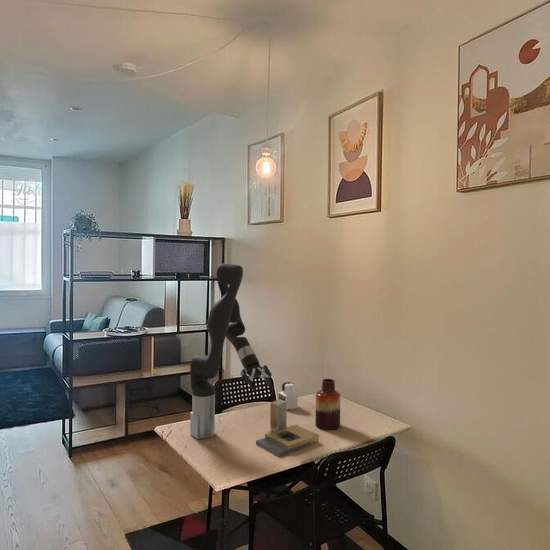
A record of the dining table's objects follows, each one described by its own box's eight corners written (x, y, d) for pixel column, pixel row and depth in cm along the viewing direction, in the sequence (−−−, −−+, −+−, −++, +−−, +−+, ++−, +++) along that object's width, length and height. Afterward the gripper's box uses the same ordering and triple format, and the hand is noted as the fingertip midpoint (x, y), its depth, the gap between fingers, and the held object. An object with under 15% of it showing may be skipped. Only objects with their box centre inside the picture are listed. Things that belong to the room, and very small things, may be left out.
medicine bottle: (278, 405, 221) (278, 382, 220) (291, 404, 224) (291, 380, 223) (284, 410, 214) (284, 386, 214) (297, 408, 217) (298, 384, 217)
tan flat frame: (278, 457, 165) (278, 449, 164) (255, 444, 175) (256, 436, 175) (318, 442, 178) (318, 435, 178) (295, 431, 189) (295, 424, 189)
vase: (328, 432, 188) (328, 385, 187) (310, 425, 196) (311, 379, 195) (345, 426, 195) (346, 381, 194) (327, 419, 203) (328, 375, 202)
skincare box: (279, 426, 194) (279, 398, 194) (286, 428, 192) (287, 400, 191) (269, 430, 189) (269, 402, 189) (277, 433, 187) (277, 404, 186)
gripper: (238, 355, 200) (253, 386, 192) (263, 351, 209) (279, 380, 201) (232, 364, 204) (246, 395, 196) (256, 360, 213) (271, 389, 205)
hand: (262, 388), depth 198 cm, fingers open, 8 cm apart
